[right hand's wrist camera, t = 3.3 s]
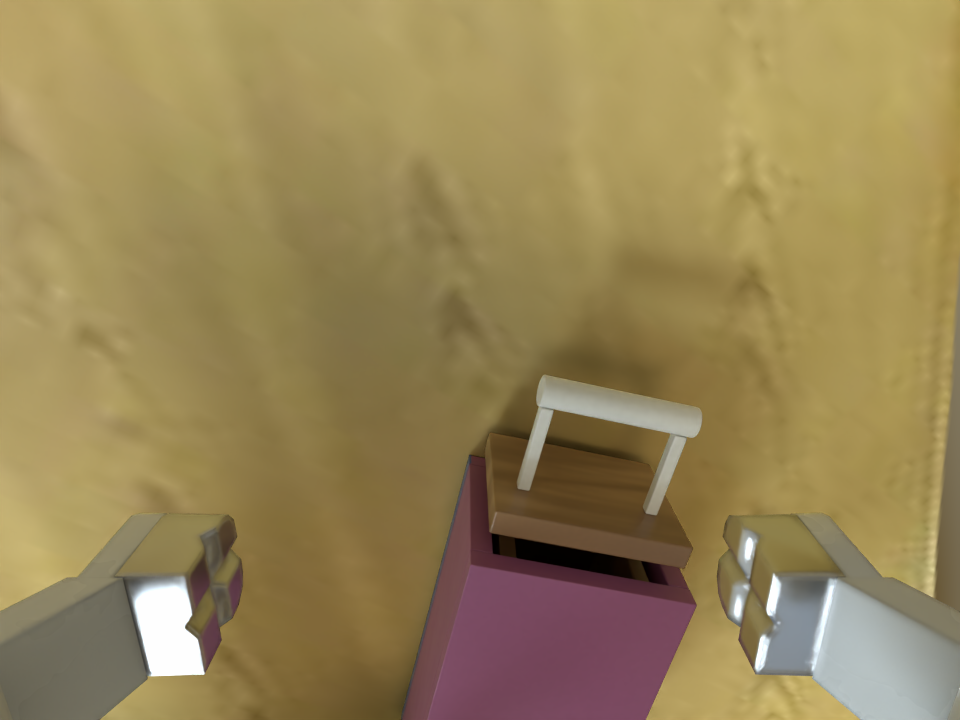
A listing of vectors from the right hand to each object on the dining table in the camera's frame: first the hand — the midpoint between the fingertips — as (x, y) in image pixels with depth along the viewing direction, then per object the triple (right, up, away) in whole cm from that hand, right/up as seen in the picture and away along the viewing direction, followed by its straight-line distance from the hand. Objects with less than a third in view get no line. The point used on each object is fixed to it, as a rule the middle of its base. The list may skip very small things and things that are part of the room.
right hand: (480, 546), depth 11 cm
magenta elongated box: (+2, -13, +30) cm, 32 cm away
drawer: (+3, -8, +27) cm, 28 cm away
